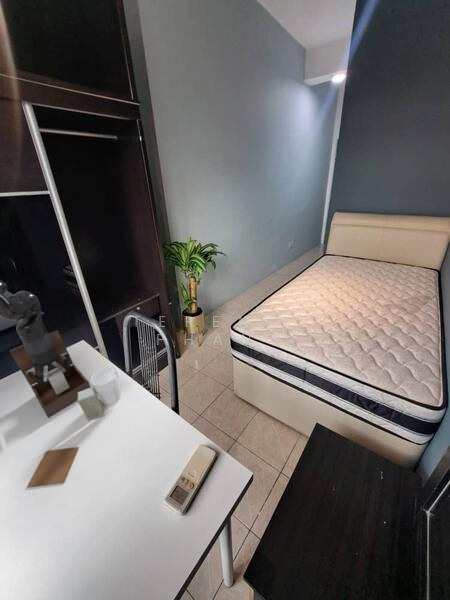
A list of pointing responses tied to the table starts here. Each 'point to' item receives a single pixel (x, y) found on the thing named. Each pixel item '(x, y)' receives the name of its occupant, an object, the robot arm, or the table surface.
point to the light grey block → (57, 380)
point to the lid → (26, 362)
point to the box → (90, 403)
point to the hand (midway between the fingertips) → (58, 382)
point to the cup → (107, 385)
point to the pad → (53, 467)
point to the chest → (62, 400)
